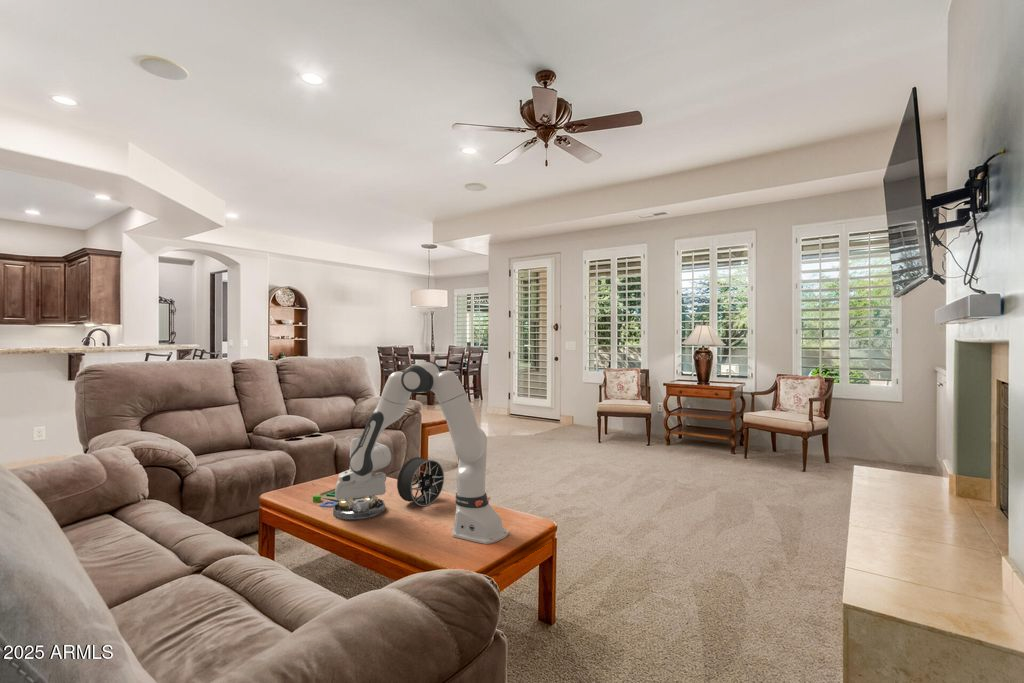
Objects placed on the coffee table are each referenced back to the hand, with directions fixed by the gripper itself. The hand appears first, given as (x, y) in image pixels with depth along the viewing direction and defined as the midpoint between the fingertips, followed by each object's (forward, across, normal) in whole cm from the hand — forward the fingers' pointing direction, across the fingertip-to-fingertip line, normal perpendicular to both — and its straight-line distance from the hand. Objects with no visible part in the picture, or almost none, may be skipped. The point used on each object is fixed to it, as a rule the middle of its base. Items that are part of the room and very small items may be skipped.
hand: (360, 507), depth 205 cm
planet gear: (+2, 0, 0) cm, 2 cm away
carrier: (+4, 0, -6) cm, 7 cm away
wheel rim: (+4, -27, -8) cm, 28 cm away
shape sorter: (+5, +4, -30) cm, 31 cm away
